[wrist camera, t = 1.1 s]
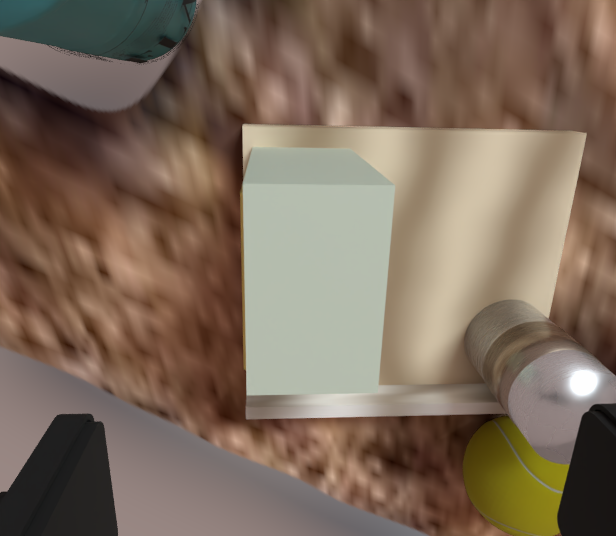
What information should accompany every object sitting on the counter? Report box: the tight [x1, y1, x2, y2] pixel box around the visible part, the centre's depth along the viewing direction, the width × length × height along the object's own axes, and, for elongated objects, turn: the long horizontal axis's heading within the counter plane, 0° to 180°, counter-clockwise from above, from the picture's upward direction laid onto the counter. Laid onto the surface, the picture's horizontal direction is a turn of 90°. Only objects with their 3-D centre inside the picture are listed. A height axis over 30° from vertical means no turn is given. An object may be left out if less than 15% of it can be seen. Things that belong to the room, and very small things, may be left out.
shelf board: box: [242, 124, 587, 419], centre depth 29 cm, size 18×16×4 cm
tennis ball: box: [463, 416, 570, 536], centre depth 32 cm, size 7×7×7 cm
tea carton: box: [240, 147, 395, 395], centre depth 23 cm, size 5×8×10 cm, turn 179°
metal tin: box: [464, 299, 616, 464], centre depth 27 cm, size 5×5×8 cm
